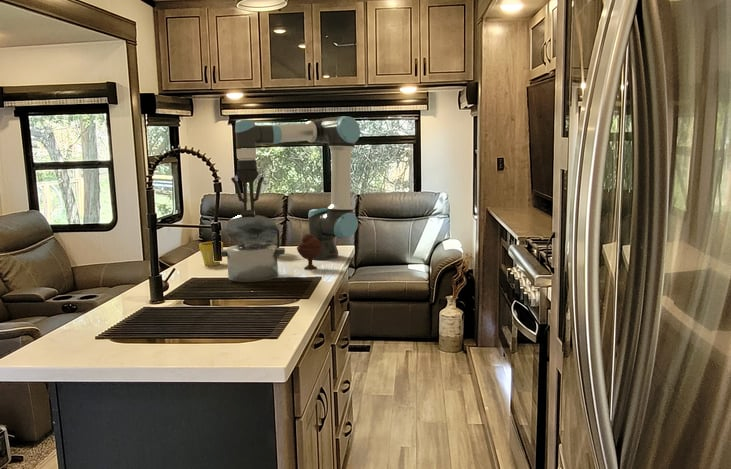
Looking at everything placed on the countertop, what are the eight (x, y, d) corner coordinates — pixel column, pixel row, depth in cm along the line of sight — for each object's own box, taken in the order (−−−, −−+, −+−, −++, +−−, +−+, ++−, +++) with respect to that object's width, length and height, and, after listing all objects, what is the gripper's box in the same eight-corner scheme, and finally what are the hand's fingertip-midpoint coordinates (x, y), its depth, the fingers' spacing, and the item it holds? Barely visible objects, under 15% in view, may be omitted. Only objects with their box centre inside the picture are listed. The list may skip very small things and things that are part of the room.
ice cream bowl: (293, 270, 260) (291, 235, 258) (305, 265, 270) (304, 231, 268) (315, 271, 256) (314, 236, 254) (327, 266, 266) (326, 232, 264)
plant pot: (220, 266, 274) (219, 244, 272) (197, 266, 274) (196, 245, 273) (226, 262, 284) (225, 241, 283) (204, 262, 284) (202, 241, 283)
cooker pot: (286, 270, 261) (285, 242, 259) (283, 280, 241) (282, 250, 240) (225, 272, 260) (223, 244, 258) (216, 283, 240) (215, 252, 238)
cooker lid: (279, 243, 260) (280, 235, 262) (274, 214, 240) (274, 206, 241) (229, 244, 259) (230, 237, 261) (220, 216, 238) (220, 208, 240)
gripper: (264, 158, 247) (267, 217, 251) (231, 159, 246) (234, 218, 250) (262, 159, 240) (265, 219, 243) (228, 160, 239) (231, 220, 243)
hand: (249, 218), depth 247 cm, fingers closed
